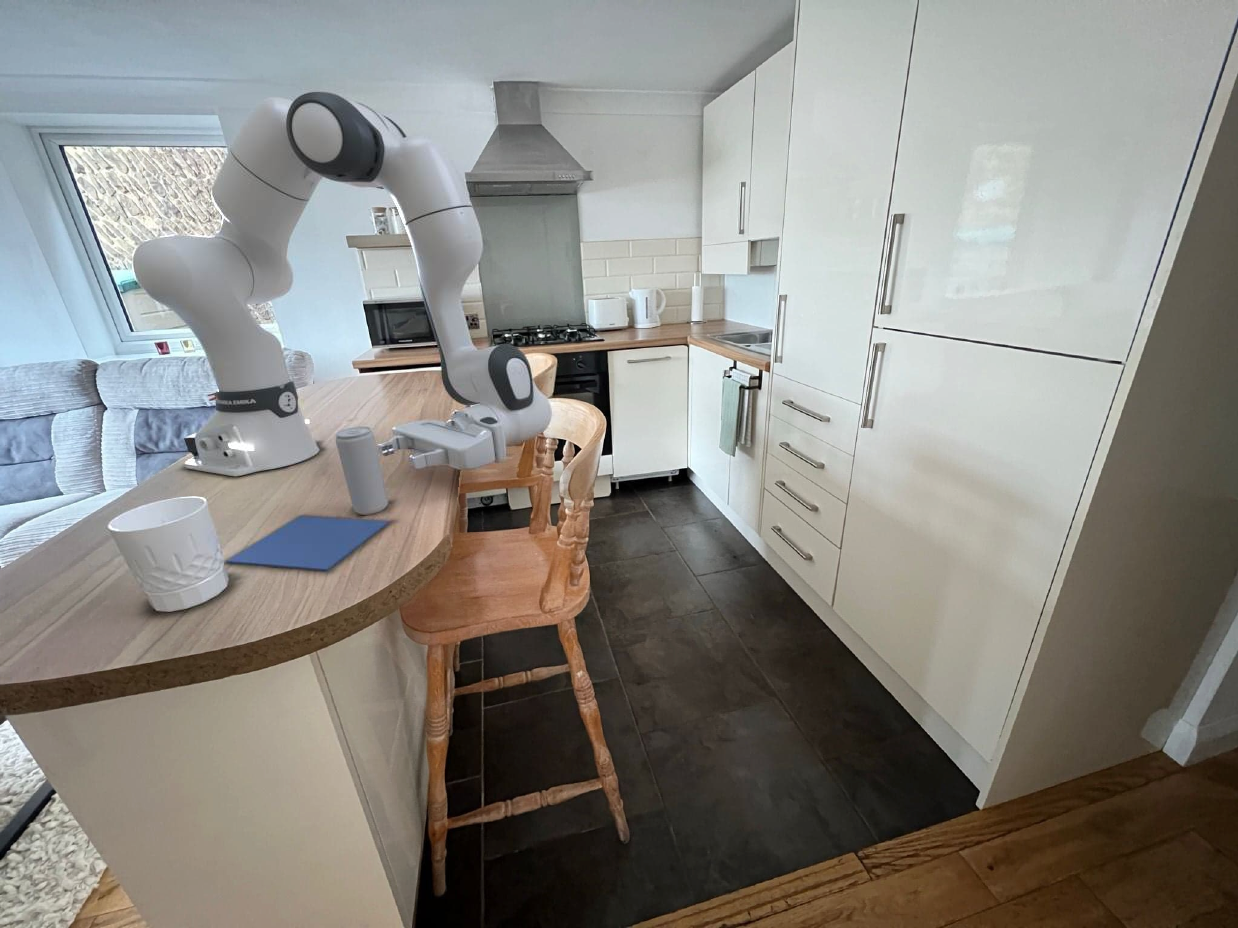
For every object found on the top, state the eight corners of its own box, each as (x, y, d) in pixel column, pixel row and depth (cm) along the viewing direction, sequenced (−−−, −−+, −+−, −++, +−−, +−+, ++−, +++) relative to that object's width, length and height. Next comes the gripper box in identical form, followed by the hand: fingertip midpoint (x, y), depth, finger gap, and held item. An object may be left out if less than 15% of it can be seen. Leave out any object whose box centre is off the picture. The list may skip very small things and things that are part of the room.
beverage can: (375, 517, 72) (357, 437, 68) (346, 515, 73) (325, 436, 69) (396, 502, 76) (379, 426, 72) (368, 500, 77) (350, 425, 73)
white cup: (180, 575, 59) (148, 498, 56) (250, 570, 60) (223, 494, 56) (125, 619, 52) (84, 533, 48) (205, 613, 52) (171, 527, 49)
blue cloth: (226, 562, 62) (225, 560, 62) (301, 517, 73) (300, 515, 73) (327, 571, 59) (326, 569, 59) (388, 523, 70) (388, 521, 70)
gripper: (435, 406, 91) (358, 425, 81) (508, 424, 79) (428, 449, 69) (440, 439, 93) (367, 462, 84) (512, 462, 81) (436, 491, 71)
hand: (395, 456), depth 76 cm, fingers open, 8 cm apart
